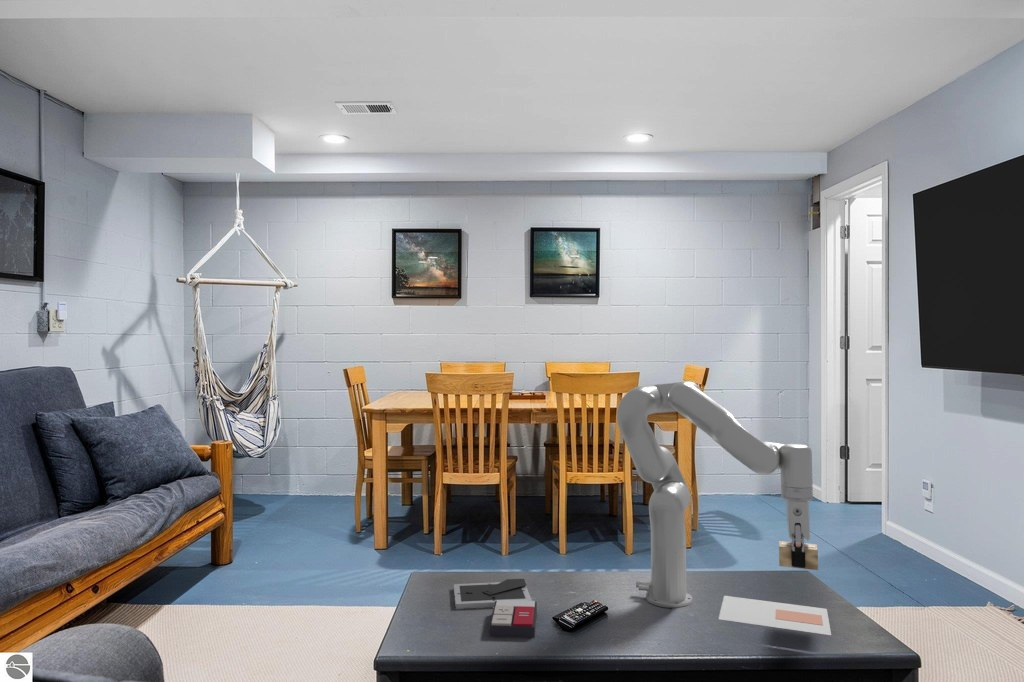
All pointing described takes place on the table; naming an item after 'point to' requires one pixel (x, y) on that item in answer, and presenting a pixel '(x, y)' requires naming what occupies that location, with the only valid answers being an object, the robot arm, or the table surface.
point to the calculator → (513, 619)
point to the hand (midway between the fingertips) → (798, 562)
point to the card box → (810, 555)
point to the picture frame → (489, 593)
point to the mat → (775, 615)
